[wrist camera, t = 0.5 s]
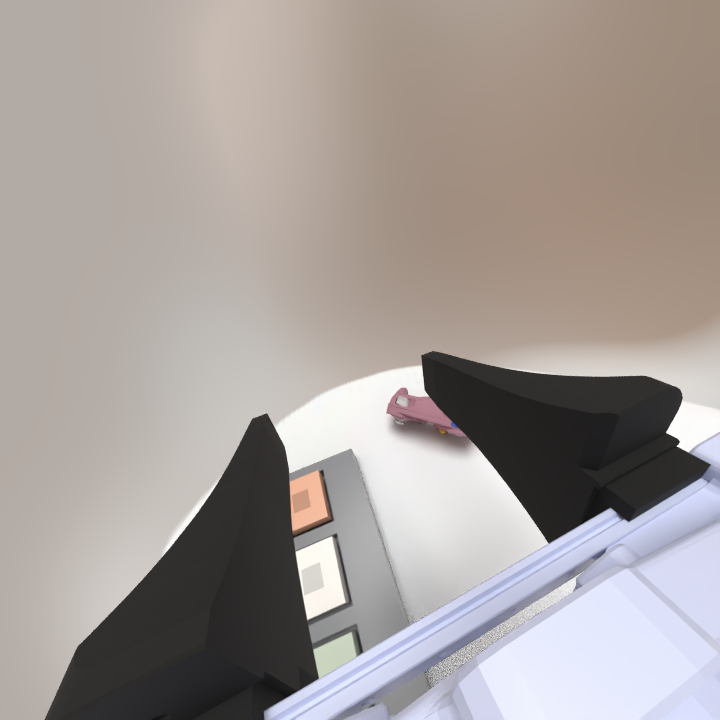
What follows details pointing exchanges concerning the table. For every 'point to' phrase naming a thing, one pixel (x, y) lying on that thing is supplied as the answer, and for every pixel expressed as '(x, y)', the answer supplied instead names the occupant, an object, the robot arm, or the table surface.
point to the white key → (321, 577)
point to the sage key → (336, 654)
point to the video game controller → (420, 412)
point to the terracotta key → (308, 502)
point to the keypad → (358, 570)
